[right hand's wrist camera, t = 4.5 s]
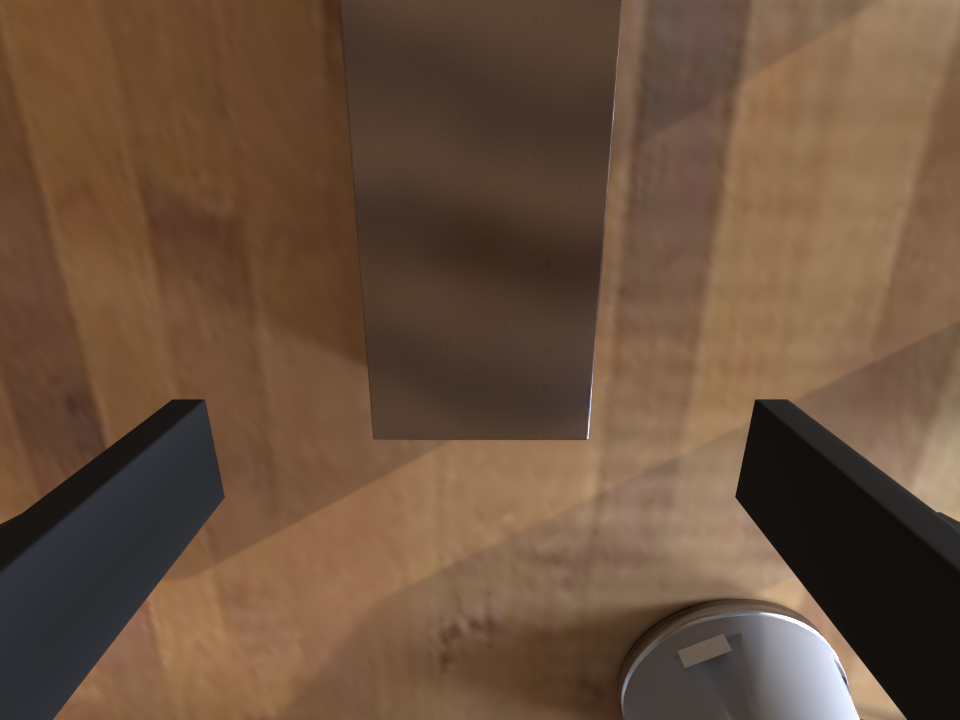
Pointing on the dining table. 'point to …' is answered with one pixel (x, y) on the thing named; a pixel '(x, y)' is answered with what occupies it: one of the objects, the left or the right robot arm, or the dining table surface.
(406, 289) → the wooden beam
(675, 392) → the dining table surface
